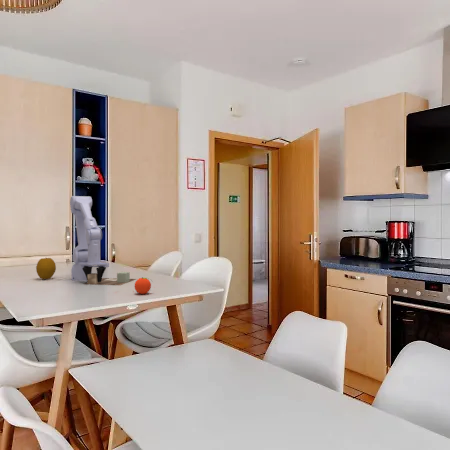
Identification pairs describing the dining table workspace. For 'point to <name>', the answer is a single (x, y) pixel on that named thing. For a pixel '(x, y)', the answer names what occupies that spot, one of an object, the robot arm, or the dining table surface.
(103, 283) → the board
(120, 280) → the sage block
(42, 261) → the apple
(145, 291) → the tomato
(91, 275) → the beech block
